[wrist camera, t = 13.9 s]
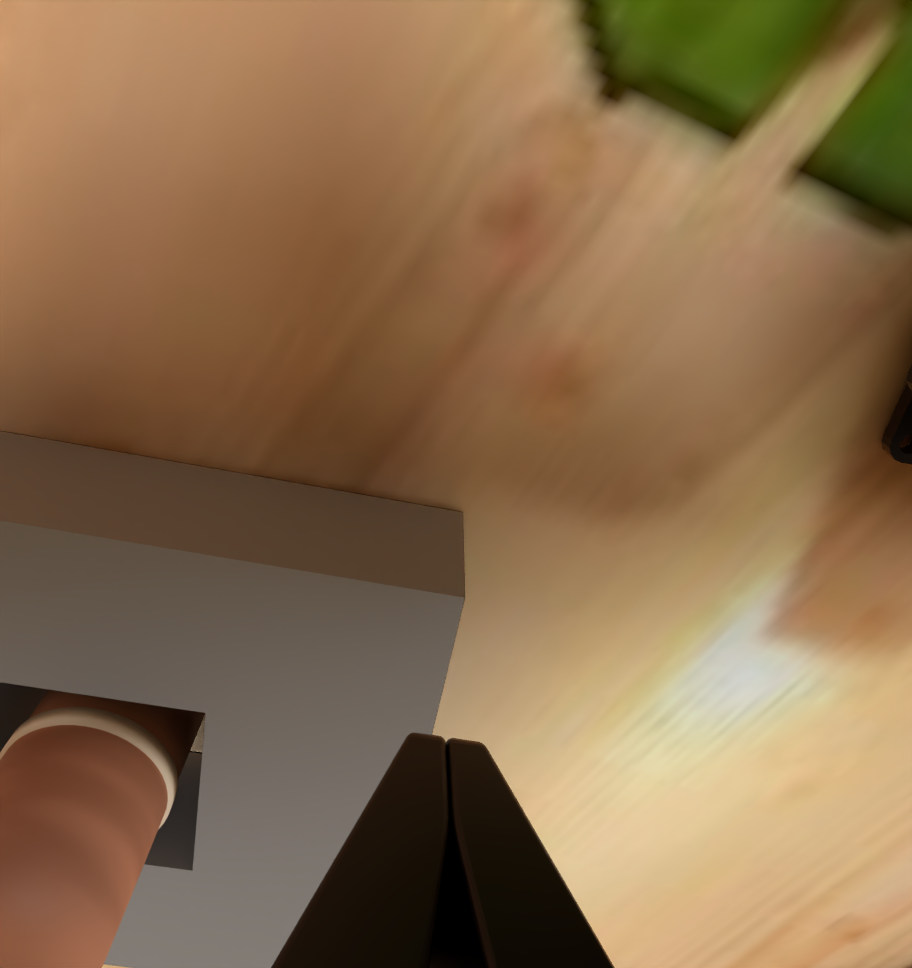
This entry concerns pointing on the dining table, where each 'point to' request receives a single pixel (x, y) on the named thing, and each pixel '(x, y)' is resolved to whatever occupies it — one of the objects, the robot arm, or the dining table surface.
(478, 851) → the robot arm
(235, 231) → the dining table surface
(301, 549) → the hole block
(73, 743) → the peg
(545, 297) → the dining table surface
